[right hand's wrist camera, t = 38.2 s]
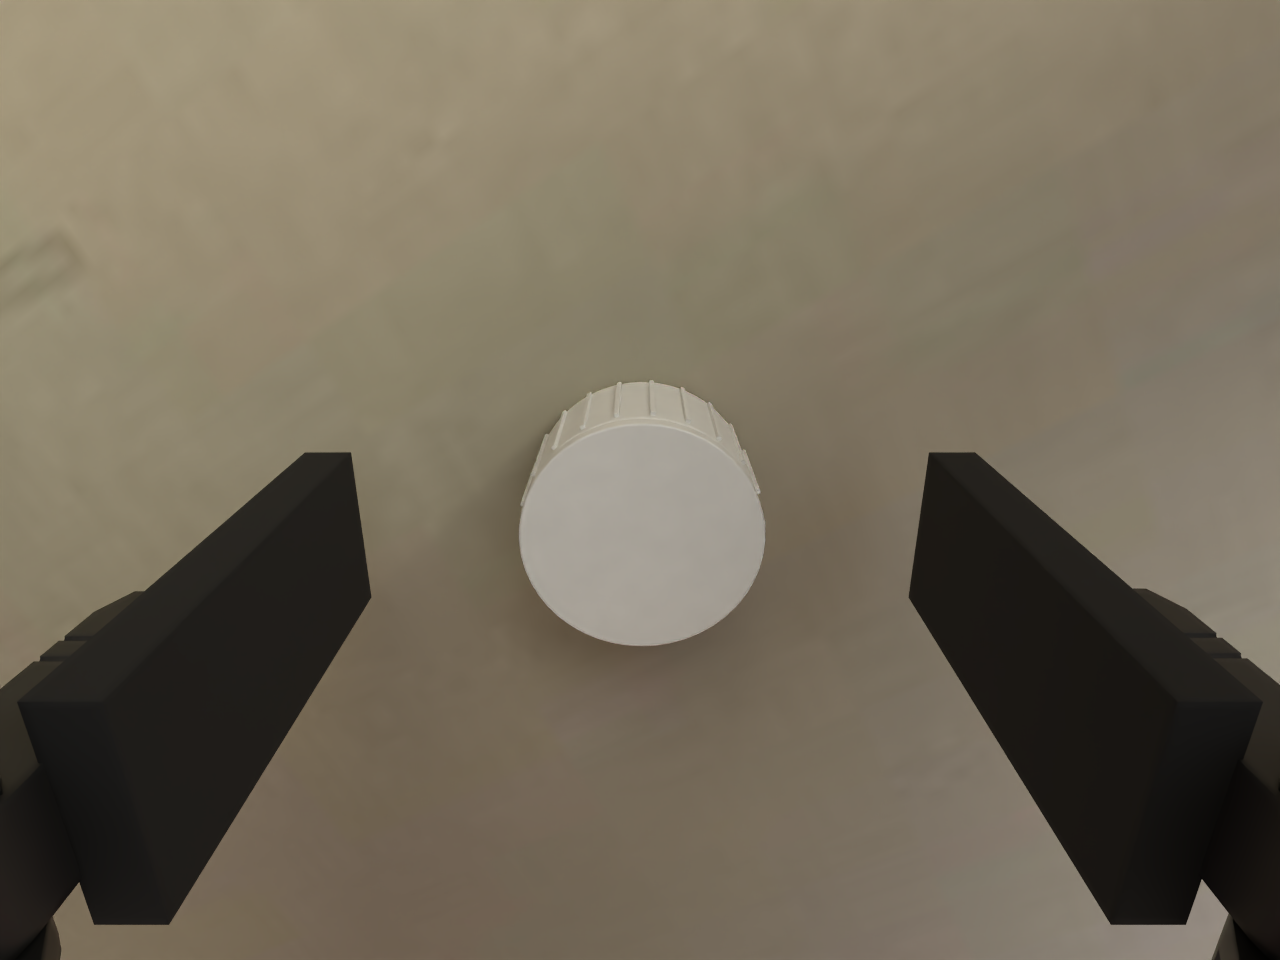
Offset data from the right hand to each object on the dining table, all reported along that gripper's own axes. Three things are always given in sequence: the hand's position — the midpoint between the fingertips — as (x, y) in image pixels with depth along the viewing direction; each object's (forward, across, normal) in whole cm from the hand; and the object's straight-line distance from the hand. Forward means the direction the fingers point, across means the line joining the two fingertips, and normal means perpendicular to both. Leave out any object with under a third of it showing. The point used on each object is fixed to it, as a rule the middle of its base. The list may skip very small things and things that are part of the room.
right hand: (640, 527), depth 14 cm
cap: (+2, 0, 0) cm, 2 cm away
